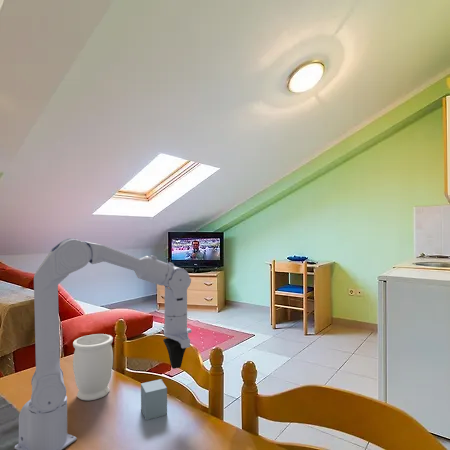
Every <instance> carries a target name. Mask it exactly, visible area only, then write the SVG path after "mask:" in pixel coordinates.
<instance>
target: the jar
mask: <svg viewBox="0 0 450 450" xmlns="http://www.w3.org/2000/svg"><path fill="white" fill-rule="evenodd" d="M113 339H114V337H113V336H112V335H111V334H106V333H105V334H104V333H92V334H89V335H83V336H81V337H78V338H76V339H74V341H73V342H72V346H73V348H74V351H73V357H72V358H73V359H72V369H73V375H74V381H75V385H76V387H77V389H78V391H77V394H76V396H77V398H78V399H79V400H81V401H95V400H99V399H102V398H104V397H105V396H107V395H108V394H109V392H110V387H109V384H110V380H111V377H112V371H113V367H114V366H113V365H114V352H113V347H112V343H113V341H114V340H113Z"/></svg>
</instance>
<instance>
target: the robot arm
mask: <svg viewBox="0 0 450 450" xmlns="http://www.w3.org/2000/svg"><path fill="white" fill-rule="evenodd" d="M103 262H104V263H107V264H111V265H114V266H118V267H121V268H124V269H128V270H130V271H134V273H135V275H136V278H138V279H140V280H142V281H147V282H149V283H152V284H155V285H159V286H161V287H164V324H163V336H164V337H166V338H164V339H163V343H164V344H165V347H166V350H167V353H168V358H169V363H170V366H171V368H172V369H173V370H174V369H179V368H181V367H182V363H183V360H184V355H185V352H186V349H188V348H190V347H191V339H190V338H189V334H190V333H192V329H191V328H190V327H188V288H189V287H190V286H191V282H192V278H190V274H189V272H188V271H187V270H186V269H184V268H182V267H178V266H176V265H175V264H174V263H173V262H170V261H169V262H166V261H162V260H160V259H158V256H156V255H152V254H151V255H150V256H148V255H145V256H143V257H142V256H141V257H140V258H138V257H135V256H132V255H130V254H127V253H125V252H122V251H119V250H117V249H115V248H113V247H109V246H107V245H105V244H100V243H95V242H90V241H85V240H80V239H77V238H66V239H64V240H61V241H60V242H59V243H57V244H56V245H55V246H53V247H52V248H51V249H50V251H49V253H48V255H47V256H46V257H45V259H44V260H43V261H42V263H41V265H40V266H39V267H38V268H37V270H36V271H35V273H34V275H33V294H34V295H33V299H34V300H33V301H34V302H33V303H34V336H35V337H34V339H35V340H34V341H35V343H34V344H35V349H34V350H35V371H34V373H33V375H32V377H31V380H30V382H31V384H30V385H31V396H30V399H29V400H28V401H26V403H24V405H22V408H21V409H20V412H19V414H18V443H17V444H15V445H14V450H64V449H65V448H66V447H68V446H69V445H71V444H72V443H74V442H75V441H76V440H77V437H76V436H74V435H73V434H69V433H68V396H67V387H66V385H65V380H64V371H63V369H62V368H61V359H60V358H61V357H60V320H59V319H60V316H59V313H60V312H59V284H60V283H61V282H62V281H64V280H65V279H66V278H67V277H68V276H69V275H70V274H72V273H74V272H77V271H79V270H80V269H83V268H84V267H85V266H87V265H88V264H89V263H90V264H91V265H95V264H98V263H103Z"/></svg>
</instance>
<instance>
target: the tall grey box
mask: <svg viewBox="0 0 450 450" xmlns="http://www.w3.org/2000/svg"><path fill="white" fill-rule="evenodd" d="M140 410H141V413H142V415H143V417H144V420H145V421H148V420H153V419H155V418H159V417H162V416H163V417H164V416H167V415H168V387H167V386H166V384H165V383H164V381H163V379H162V378H161V379H155V380H151V381H146V382H142V383H140Z"/></svg>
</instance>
